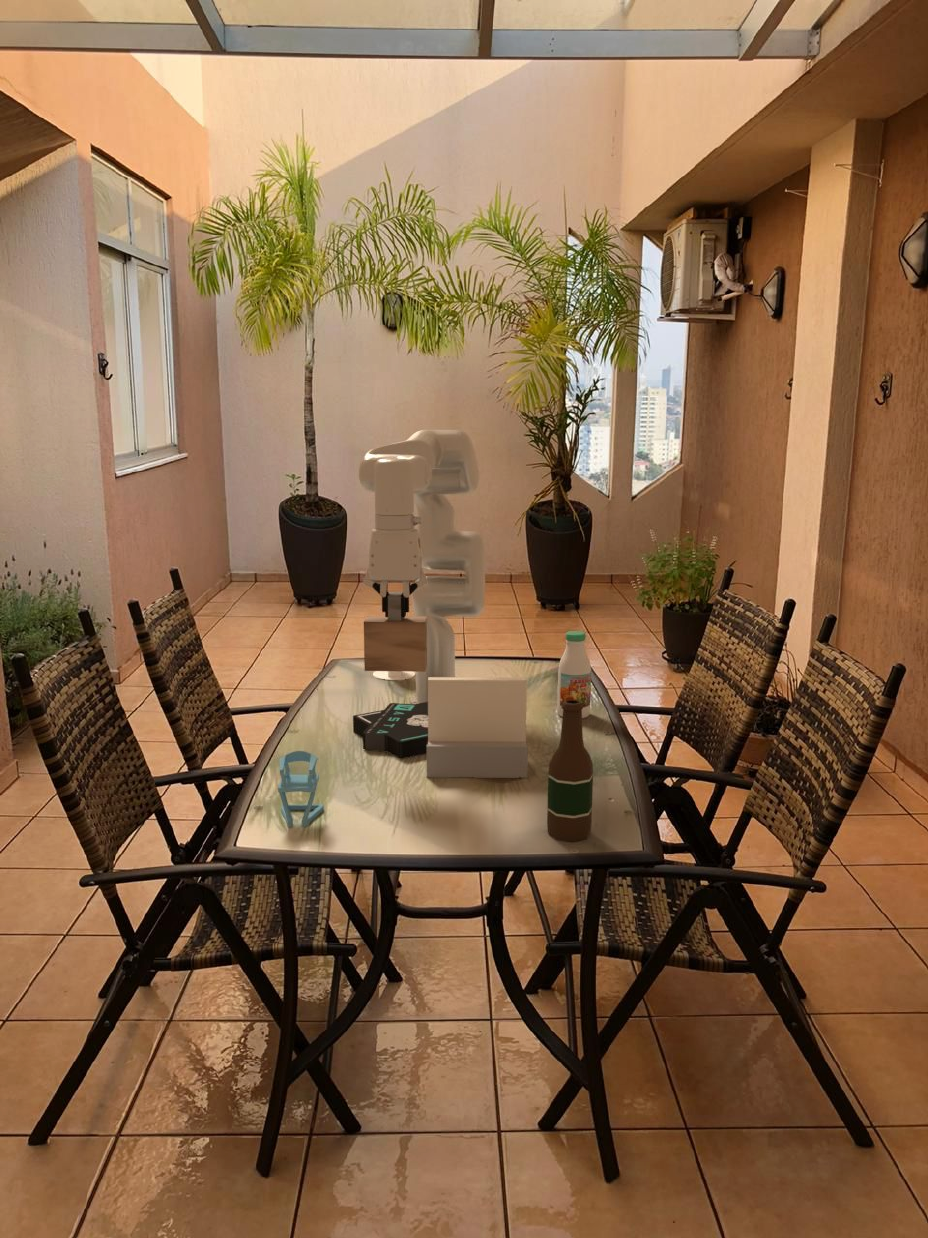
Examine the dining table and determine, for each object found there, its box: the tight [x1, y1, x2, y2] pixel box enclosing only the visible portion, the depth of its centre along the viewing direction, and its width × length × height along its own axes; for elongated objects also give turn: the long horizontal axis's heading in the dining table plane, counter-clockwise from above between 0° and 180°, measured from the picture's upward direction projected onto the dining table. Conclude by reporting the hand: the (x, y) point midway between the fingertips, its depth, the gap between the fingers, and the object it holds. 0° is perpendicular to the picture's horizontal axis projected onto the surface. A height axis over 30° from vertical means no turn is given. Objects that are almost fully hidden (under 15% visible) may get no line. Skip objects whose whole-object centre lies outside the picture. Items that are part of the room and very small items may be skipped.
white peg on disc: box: [372, 671, 416, 681], centre depth 284 cm, size 12×11×15 cm
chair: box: [277, 750, 324, 828], centre depth 190 cm, size 8×8×12 cm
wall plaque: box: [352, 702, 428, 760], centre depth 236 cm, size 30×4×30 cm
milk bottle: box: [556, 630, 592, 719], centre depth 250 cm, size 8×8×20 cm
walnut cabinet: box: [363, 591, 427, 673], centre depth 210 cm, size 5×12×15 cm, turn 88°
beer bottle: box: [546, 699, 594, 843], centre depth 183 cm, size 8×8×24 cm
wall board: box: [426, 676, 529, 779], centre depth 214 cm, size 10×20×18 cm, turn 89°
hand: (395, 615), depth 209 cm, fingers closed on walnut cabinet, 2 cm apart
